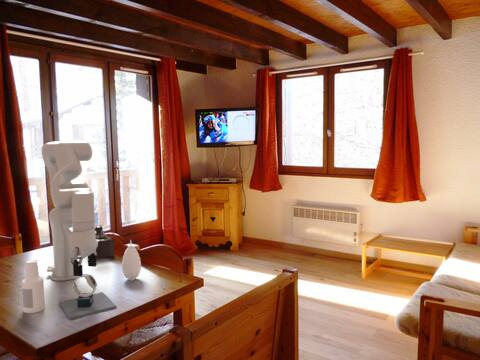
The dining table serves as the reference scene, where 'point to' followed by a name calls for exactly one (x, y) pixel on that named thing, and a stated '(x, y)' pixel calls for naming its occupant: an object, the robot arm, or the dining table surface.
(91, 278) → the watch
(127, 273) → the white eggplant
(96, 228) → the coffee grinder
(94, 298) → the mat
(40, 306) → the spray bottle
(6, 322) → the dining table surface
